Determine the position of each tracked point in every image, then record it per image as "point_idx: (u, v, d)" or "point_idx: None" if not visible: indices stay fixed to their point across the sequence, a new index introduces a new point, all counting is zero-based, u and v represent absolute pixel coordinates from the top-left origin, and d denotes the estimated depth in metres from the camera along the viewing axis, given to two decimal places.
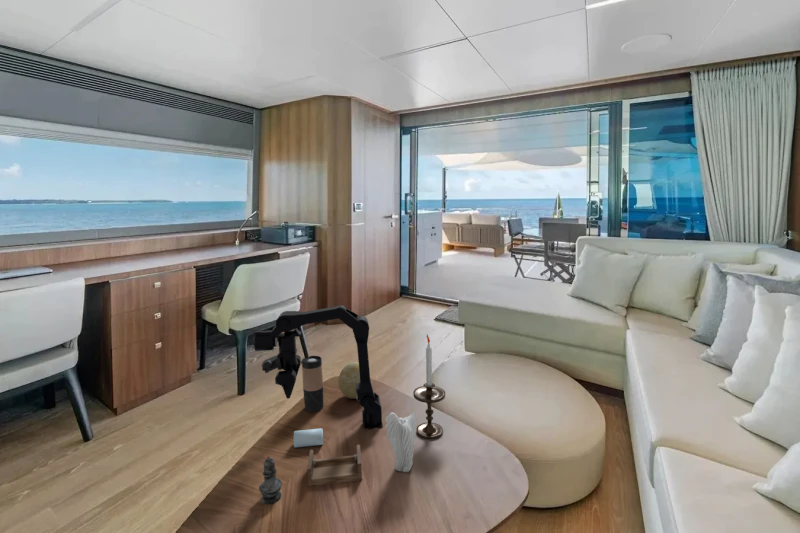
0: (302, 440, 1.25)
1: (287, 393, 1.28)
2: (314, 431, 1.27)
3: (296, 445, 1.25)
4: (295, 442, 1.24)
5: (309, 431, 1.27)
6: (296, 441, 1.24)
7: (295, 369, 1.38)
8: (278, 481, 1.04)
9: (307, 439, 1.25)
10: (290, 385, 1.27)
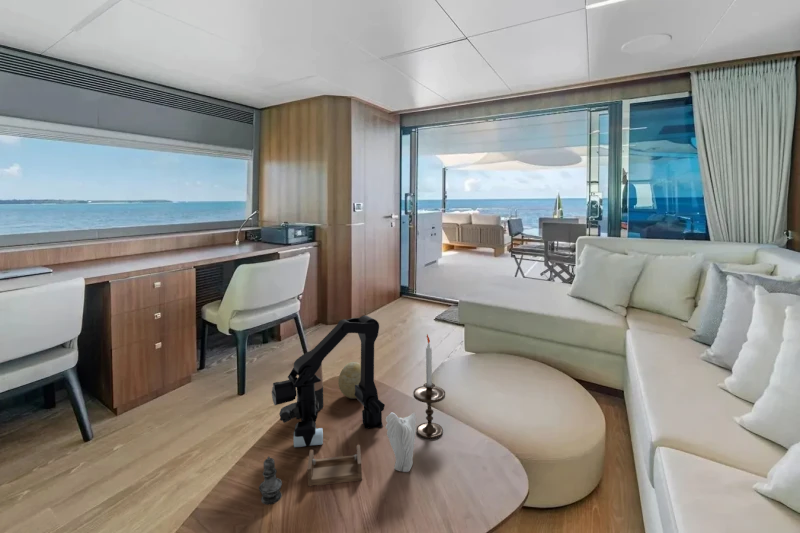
0: (302, 440, 1.25)
1: (307, 441, 1.24)
2: None
3: (296, 445, 1.25)
4: (295, 442, 1.24)
5: None
6: (295, 441, 1.24)
7: (313, 418, 1.30)
8: (278, 481, 1.04)
9: None
10: None
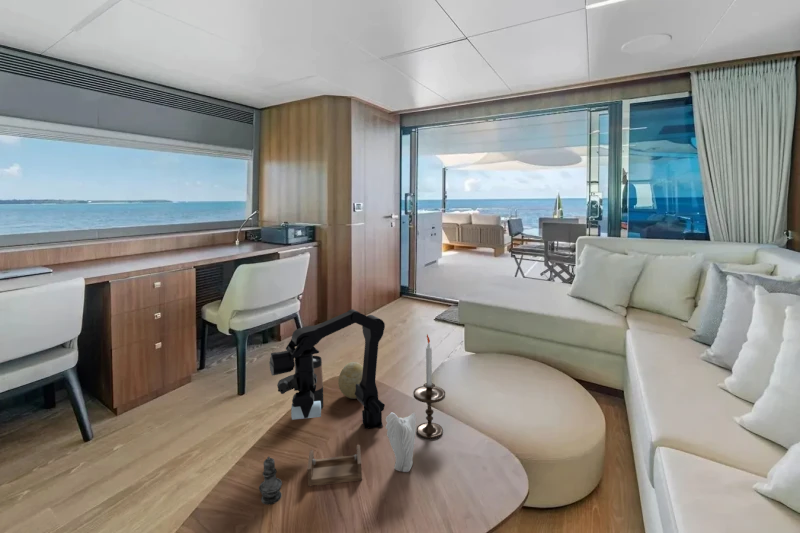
0: (300, 412, 1.23)
1: (305, 412, 1.22)
2: None
3: (294, 417, 1.23)
4: (293, 414, 1.23)
5: None
6: (293, 413, 1.23)
7: (311, 391, 1.29)
8: (278, 481, 1.04)
9: None
10: None
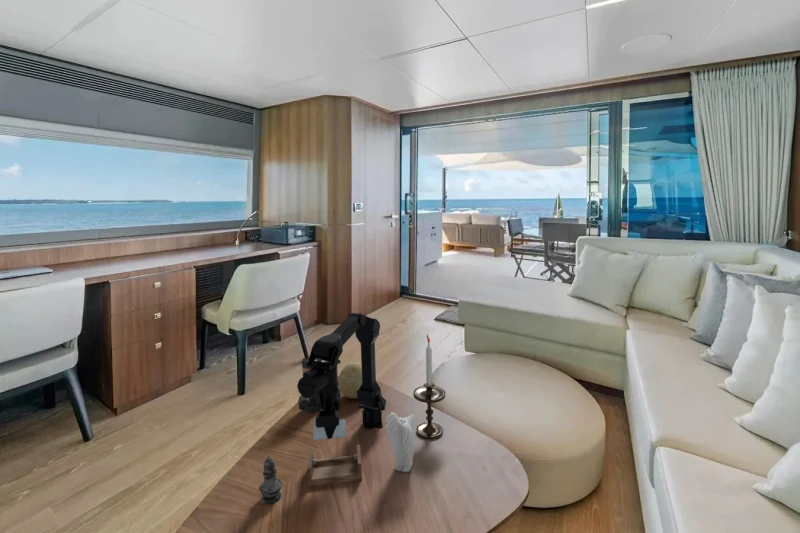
0: (322, 432, 1.10)
1: (329, 433, 1.09)
2: None
3: (316, 437, 1.10)
4: (315, 434, 1.10)
5: None
6: (315, 433, 1.10)
7: (335, 408, 1.15)
8: (278, 481, 1.04)
9: None
10: None
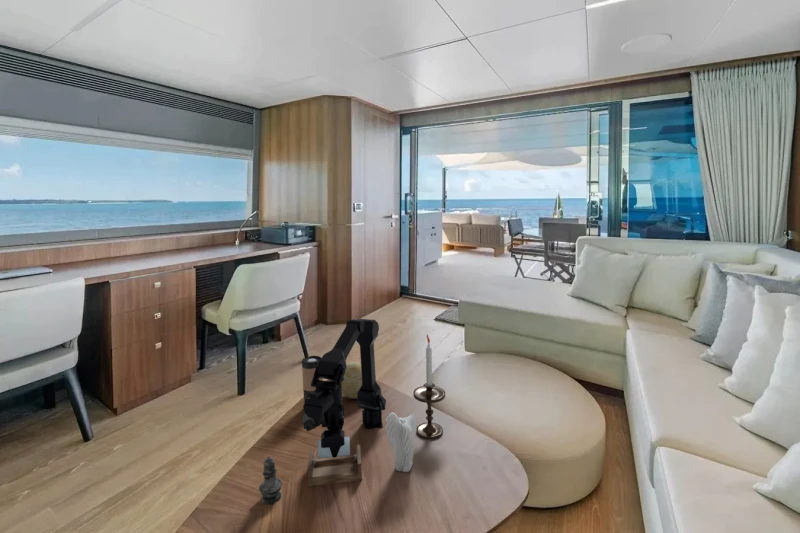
0: (327, 451, 1.09)
1: (333, 452, 1.09)
2: None
3: (321, 456, 1.10)
4: (320, 453, 1.09)
5: None
6: (320, 452, 1.09)
7: None
8: (278, 481, 1.04)
9: None
10: None
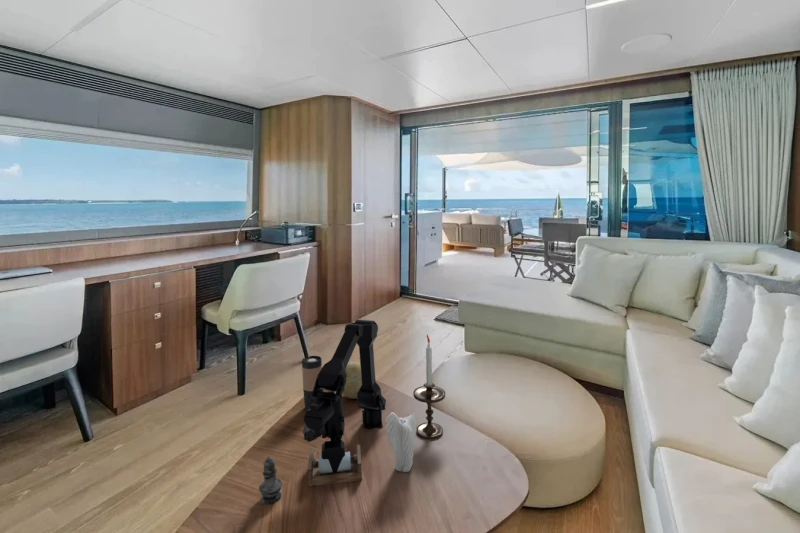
0: (328, 466, 1.10)
1: (334, 467, 1.07)
2: None
3: (321, 472, 1.10)
4: (320, 468, 1.10)
5: None
6: (321, 467, 1.10)
7: None
8: (278, 481, 1.04)
9: None
10: (338, 458, 1.06)
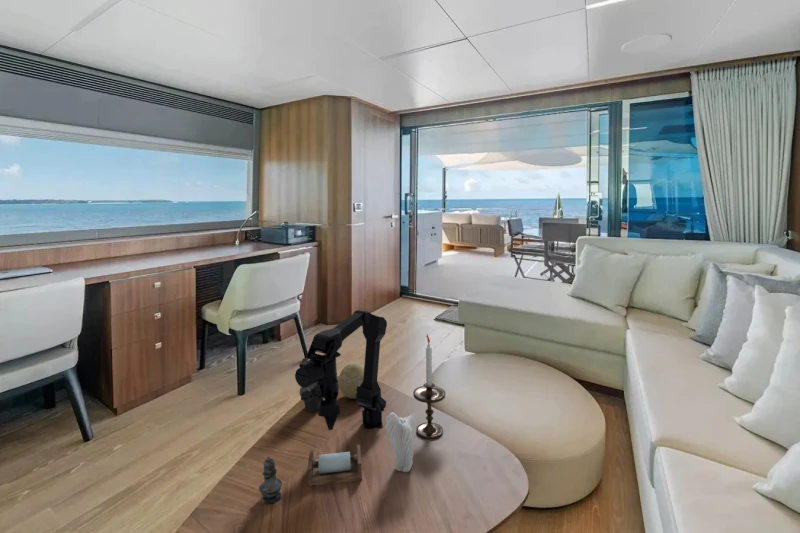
0: (328, 467, 1.10)
1: (329, 424, 1.14)
2: (341, 455, 1.12)
3: (321, 472, 1.10)
4: (320, 468, 1.10)
5: (336, 455, 1.12)
6: (321, 467, 1.10)
7: None
8: (278, 481, 1.04)
9: (334, 465, 1.10)
10: (333, 416, 1.13)
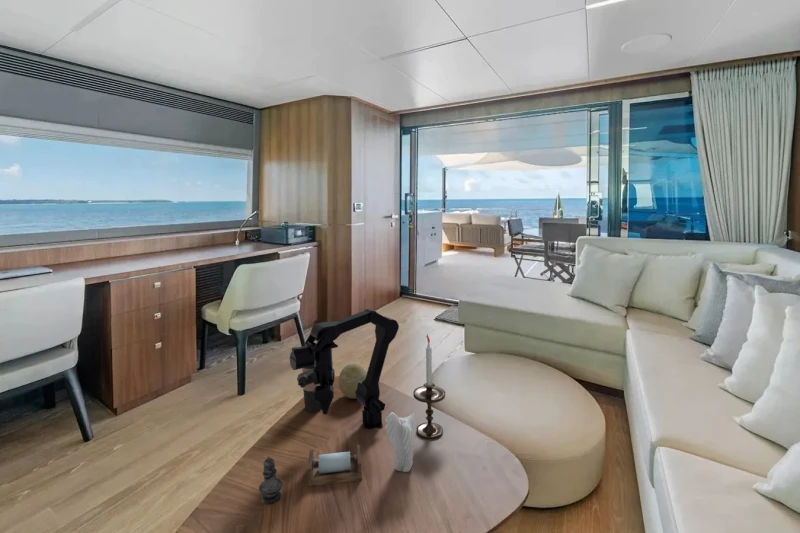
0: (328, 466, 1.10)
1: (324, 409, 1.22)
2: (341, 455, 1.12)
3: (321, 471, 1.10)
4: (320, 468, 1.10)
5: (336, 455, 1.12)
6: (321, 467, 1.10)
7: (330, 383, 1.32)
8: (278, 481, 1.04)
9: (334, 465, 1.10)
10: (327, 401, 1.21)
